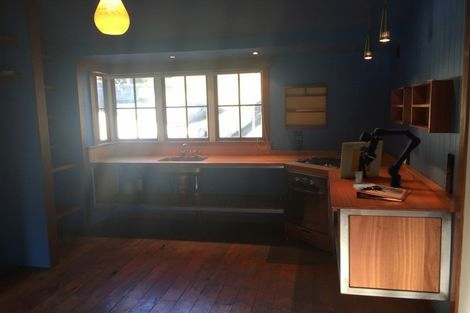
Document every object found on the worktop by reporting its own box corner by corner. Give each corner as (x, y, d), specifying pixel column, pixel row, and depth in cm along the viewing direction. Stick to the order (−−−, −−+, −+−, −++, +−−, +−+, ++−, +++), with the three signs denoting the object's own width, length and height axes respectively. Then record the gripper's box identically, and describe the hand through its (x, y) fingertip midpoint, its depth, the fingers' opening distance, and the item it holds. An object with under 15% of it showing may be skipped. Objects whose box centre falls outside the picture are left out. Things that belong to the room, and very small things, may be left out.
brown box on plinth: (363, 184, 278) (363, 171, 277) (362, 186, 273) (362, 172, 272) (354, 184, 280) (354, 171, 279) (354, 186, 275) (354, 172, 274)
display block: (372, 186, 271) (372, 183, 270) (378, 189, 261) (378, 186, 260) (353, 187, 270) (353, 184, 270) (358, 189, 260) (358, 187, 260)
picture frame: (378, 176, 312) (378, 140, 309) (383, 178, 302) (383, 141, 299) (339, 178, 311) (339, 142, 308) (343, 180, 301) (343, 143, 298)
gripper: (360, 140, 277) (352, 159, 279) (364, 142, 258) (356, 162, 261) (375, 145, 275) (367, 165, 278) (380, 147, 257) (372, 168, 259)
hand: (365, 165), depth 269 cm, fingers open, 9 cm apart
